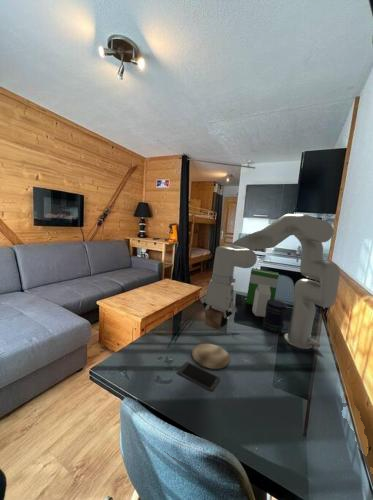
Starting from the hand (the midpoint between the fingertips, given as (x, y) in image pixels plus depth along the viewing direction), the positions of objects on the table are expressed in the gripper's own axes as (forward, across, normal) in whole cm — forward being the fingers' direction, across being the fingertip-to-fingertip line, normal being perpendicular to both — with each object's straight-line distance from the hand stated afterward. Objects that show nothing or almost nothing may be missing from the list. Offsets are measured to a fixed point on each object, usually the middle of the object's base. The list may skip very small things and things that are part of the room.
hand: (215, 322), depth 85 cm
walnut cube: (+1, 0, 0) cm, 1 cm away
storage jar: (+15, -14, -45) cm, 49 cm away
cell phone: (+15, -2, +13) cm, 20 cm away
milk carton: (+15, -3, -60) cm, 62 cm away
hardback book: (+15, +2, -78) cm, 79 cm away
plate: (+14, 0, 0) cm, 14 cm away
